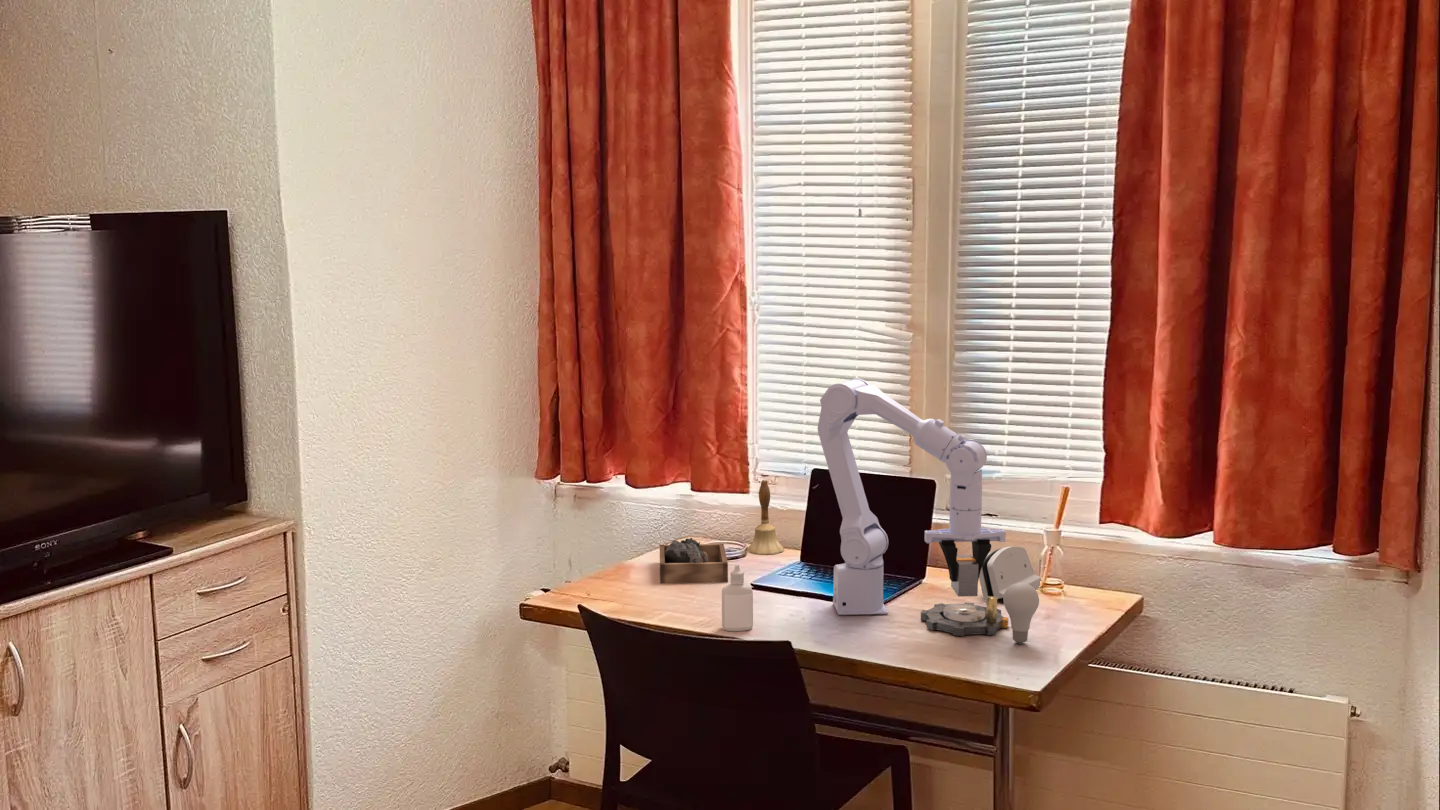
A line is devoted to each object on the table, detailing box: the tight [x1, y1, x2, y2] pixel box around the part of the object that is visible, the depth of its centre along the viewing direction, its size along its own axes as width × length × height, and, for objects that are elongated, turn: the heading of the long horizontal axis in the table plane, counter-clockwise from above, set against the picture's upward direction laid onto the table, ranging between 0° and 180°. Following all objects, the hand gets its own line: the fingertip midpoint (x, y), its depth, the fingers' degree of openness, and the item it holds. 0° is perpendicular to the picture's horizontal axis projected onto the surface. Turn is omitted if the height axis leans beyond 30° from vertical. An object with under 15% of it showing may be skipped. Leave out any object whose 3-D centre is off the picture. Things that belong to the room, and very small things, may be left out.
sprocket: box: [920, 596, 1009, 637], centre depth 231 cm, size 15×15×6 cm
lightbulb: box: [1002, 583, 1040, 645], centre depth 220 cm, size 6×6×11 cm
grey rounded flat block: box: [978, 546, 1042, 602], centre depth 251 cm, size 17×5×10 cm, turn 141°
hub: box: [943, 603, 985, 623], centre depth 232 cm, size 8×8×3 cm
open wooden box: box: [659, 543, 729, 584], centre depth 267 cm, size 14×16×4 cm
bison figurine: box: [664, 537, 709, 563], centre depth 266 cm, size 12×7×10 cm
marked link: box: [950, 554, 979, 598], centre depth 230 cm, size 4×6×6 cm, turn 2°
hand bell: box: [746, 480, 785, 556], centre depth 284 cm, size 8×8×16 cm
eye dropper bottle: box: [721, 563, 754, 632], centre depth 229 cm, size 4×6×12 cm
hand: (963, 580), depth 230 cm, fingers closed on marked link, 3 cm apart
